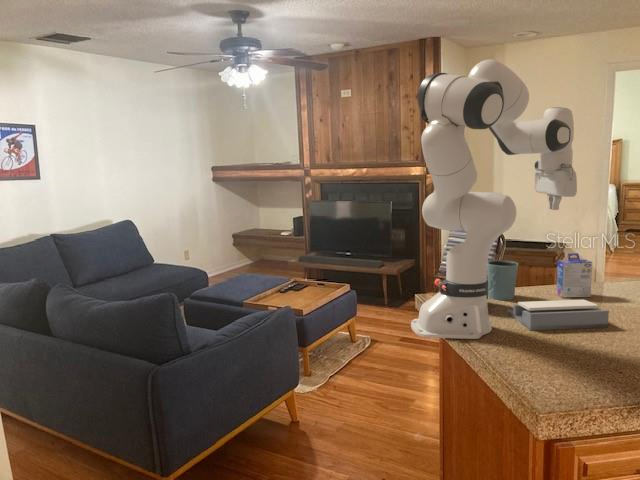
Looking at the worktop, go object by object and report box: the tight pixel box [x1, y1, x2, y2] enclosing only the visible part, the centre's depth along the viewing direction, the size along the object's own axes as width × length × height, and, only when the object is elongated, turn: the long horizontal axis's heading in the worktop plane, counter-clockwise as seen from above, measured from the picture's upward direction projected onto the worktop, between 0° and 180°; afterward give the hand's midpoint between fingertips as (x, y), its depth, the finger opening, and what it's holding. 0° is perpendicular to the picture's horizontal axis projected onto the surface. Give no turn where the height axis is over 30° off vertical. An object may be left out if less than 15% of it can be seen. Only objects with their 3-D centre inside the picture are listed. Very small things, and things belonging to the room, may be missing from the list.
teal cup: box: [487, 259, 520, 301], centre depth 175 cm, size 10×10×12 cm
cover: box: [517, 299, 600, 311], centre depth 148 cm, size 20×8×1 cm, turn 91°
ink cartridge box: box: [556, 252, 593, 299], centre depth 173 cm, size 10×6×14 cm, turn 89°
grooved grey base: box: [507, 303, 610, 331], centre depth 150 cm, size 22×16×5 cm
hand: (553, 209), depth 154 cm, fingers closed
